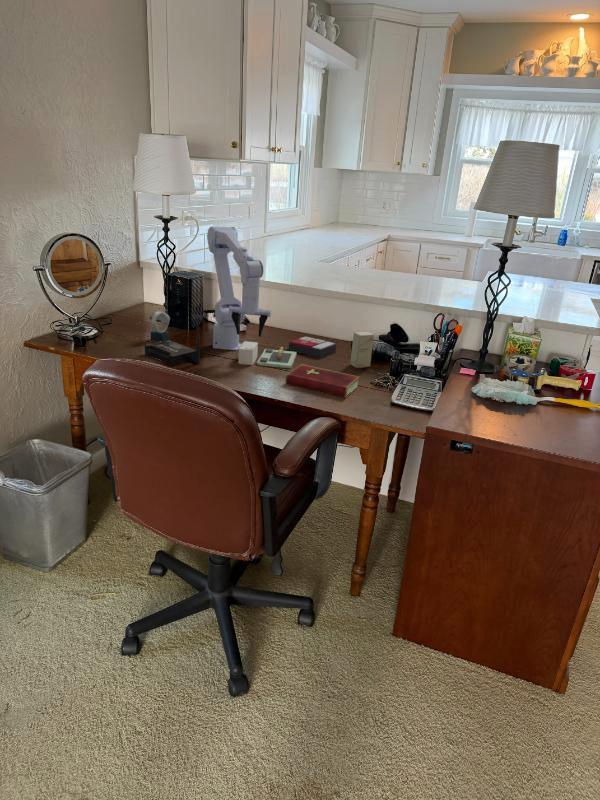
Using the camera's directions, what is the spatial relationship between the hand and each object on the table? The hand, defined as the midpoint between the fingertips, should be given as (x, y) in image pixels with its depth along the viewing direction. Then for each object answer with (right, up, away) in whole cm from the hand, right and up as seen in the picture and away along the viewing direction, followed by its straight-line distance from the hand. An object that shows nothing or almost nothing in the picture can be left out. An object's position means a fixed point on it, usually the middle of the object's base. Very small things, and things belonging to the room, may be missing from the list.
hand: (249, 334), depth 196 cm
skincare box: (+40, -11, +7) cm, 42 cm away
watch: (-36, 0, +19) cm, 40 cm away
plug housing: (-1, -9, +4) cm, 9 cm away
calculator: (+23, -4, +19) cm, 30 cm away
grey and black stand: (-26, -9, 0) cm, 28 cm away
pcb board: (+10, -8, +6) cm, 14 cm away
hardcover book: (+25, -19, -14) cm, 34 cm away
